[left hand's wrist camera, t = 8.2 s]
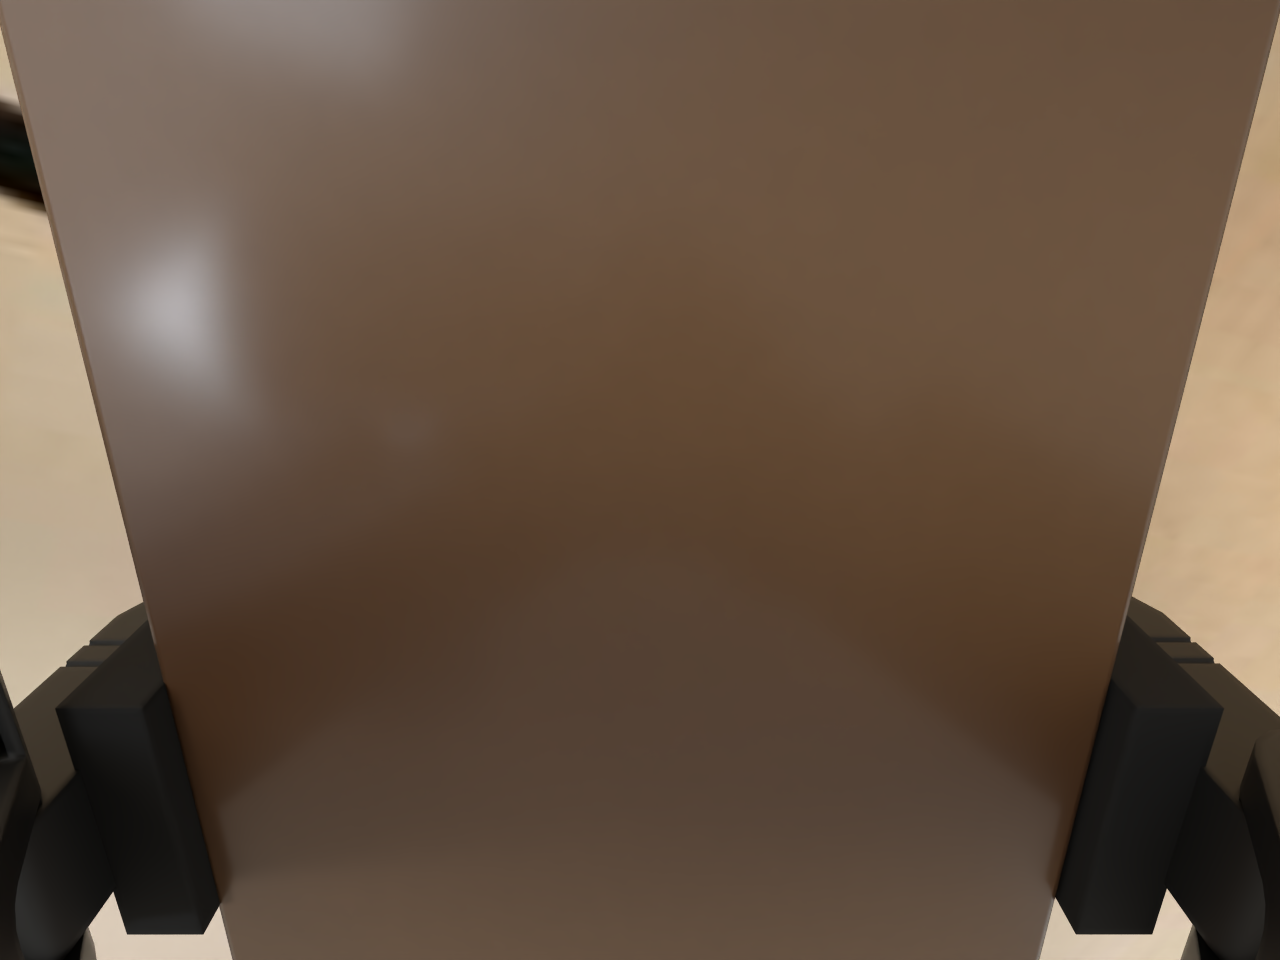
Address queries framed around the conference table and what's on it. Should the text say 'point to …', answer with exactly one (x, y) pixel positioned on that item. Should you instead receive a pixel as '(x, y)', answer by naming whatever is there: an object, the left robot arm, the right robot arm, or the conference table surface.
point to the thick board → (637, 443)
